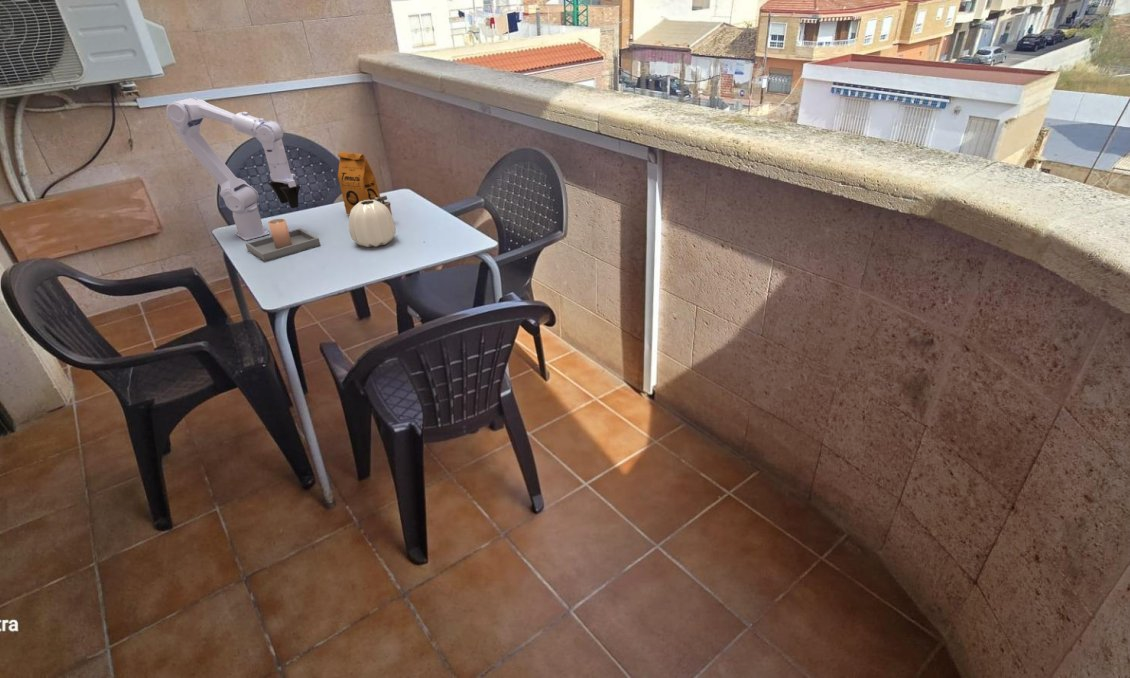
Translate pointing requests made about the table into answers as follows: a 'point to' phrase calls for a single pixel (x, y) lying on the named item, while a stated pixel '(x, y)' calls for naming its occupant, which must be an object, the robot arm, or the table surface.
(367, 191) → the coffee package
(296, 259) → the table surface
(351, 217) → the vase
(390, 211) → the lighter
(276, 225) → the cup
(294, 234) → the tray
